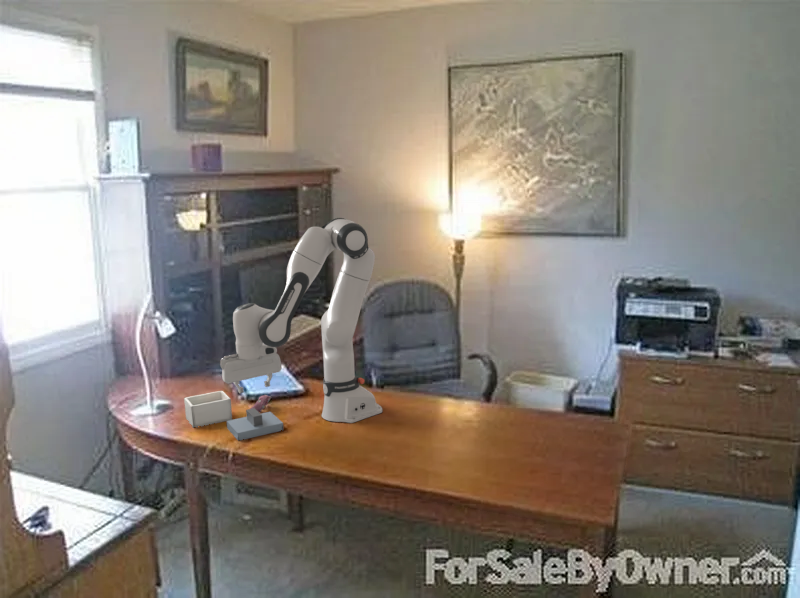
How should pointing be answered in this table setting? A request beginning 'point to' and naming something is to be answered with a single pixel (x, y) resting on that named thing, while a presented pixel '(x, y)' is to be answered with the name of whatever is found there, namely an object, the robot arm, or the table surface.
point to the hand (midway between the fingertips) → (254, 389)
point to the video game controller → (261, 403)
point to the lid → (254, 425)
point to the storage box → (208, 408)
